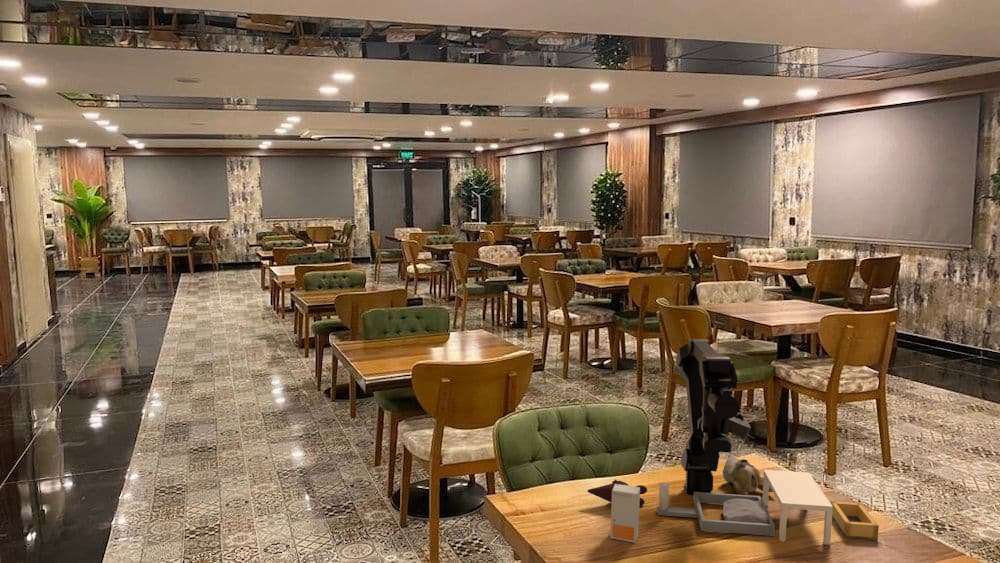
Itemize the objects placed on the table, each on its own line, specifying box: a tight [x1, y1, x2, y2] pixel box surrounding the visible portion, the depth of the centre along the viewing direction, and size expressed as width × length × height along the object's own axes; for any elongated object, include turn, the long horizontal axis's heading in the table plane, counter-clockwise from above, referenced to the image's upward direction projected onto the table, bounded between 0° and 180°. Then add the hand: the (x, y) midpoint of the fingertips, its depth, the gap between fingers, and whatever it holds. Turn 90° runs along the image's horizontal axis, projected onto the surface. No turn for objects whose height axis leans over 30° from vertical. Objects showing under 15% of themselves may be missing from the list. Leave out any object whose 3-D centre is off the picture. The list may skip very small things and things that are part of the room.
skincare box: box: [610, 484, 641, 544], centre depth 165 cm, size 6×4×12 cm
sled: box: [656, 482, 776, 537], centre depth 176 cm, size 26×17×7 cm, turn 81°
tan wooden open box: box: [830, 501, 880, 541], centre depth 171 cm, size 7×12×4 cm, turn 171°
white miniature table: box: [761, 469, 833, 546], centre depth 173 cm, size 11×20×9 cm, turn 171°
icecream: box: [587, 479, 648, 506], centre depth 182 cm, size 7×8×15 cm
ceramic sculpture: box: [722, 454, 773, 495], centre depth 192 cm, size 11×9×15 cm
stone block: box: [722, 499, 768, 524], centre depth 175 cm, size 12×5×10 cm
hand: (712, 466), depth 177 cm, fingers closed
